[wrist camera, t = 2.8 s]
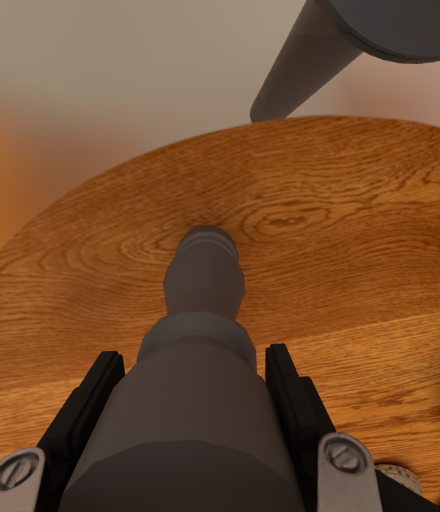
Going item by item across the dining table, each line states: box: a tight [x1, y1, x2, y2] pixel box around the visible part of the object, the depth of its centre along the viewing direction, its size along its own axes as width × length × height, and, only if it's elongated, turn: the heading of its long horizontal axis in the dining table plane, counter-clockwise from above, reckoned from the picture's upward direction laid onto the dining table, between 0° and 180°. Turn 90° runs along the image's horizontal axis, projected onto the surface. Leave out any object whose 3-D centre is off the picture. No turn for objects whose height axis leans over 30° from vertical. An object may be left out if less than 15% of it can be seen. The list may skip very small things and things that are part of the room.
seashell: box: [374, 464, 422, 496], centre depth 39 cm, size 8×6×8 cm
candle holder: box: [58, 225, 306, 512], centre depth 18 cm, size 6×6×25 cm
